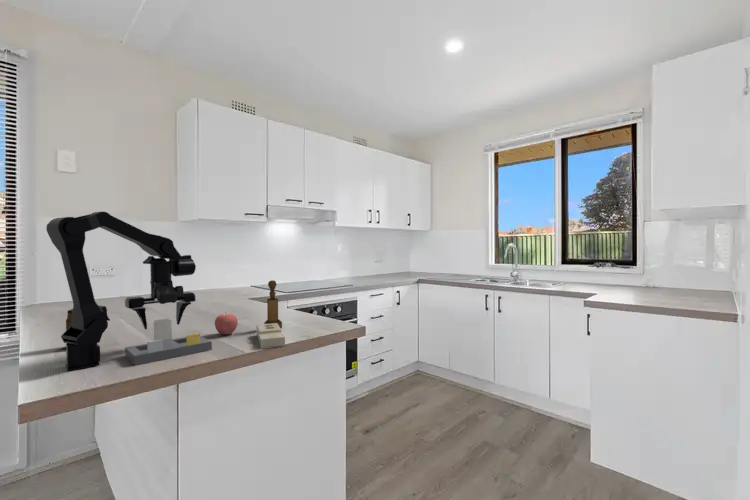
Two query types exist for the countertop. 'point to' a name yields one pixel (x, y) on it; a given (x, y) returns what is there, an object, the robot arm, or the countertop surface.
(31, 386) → the countertop surface
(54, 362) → the countertop surface
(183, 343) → the socket plate
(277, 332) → the electrical outlet
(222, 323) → the apple
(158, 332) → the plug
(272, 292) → the wooden pepper mill
